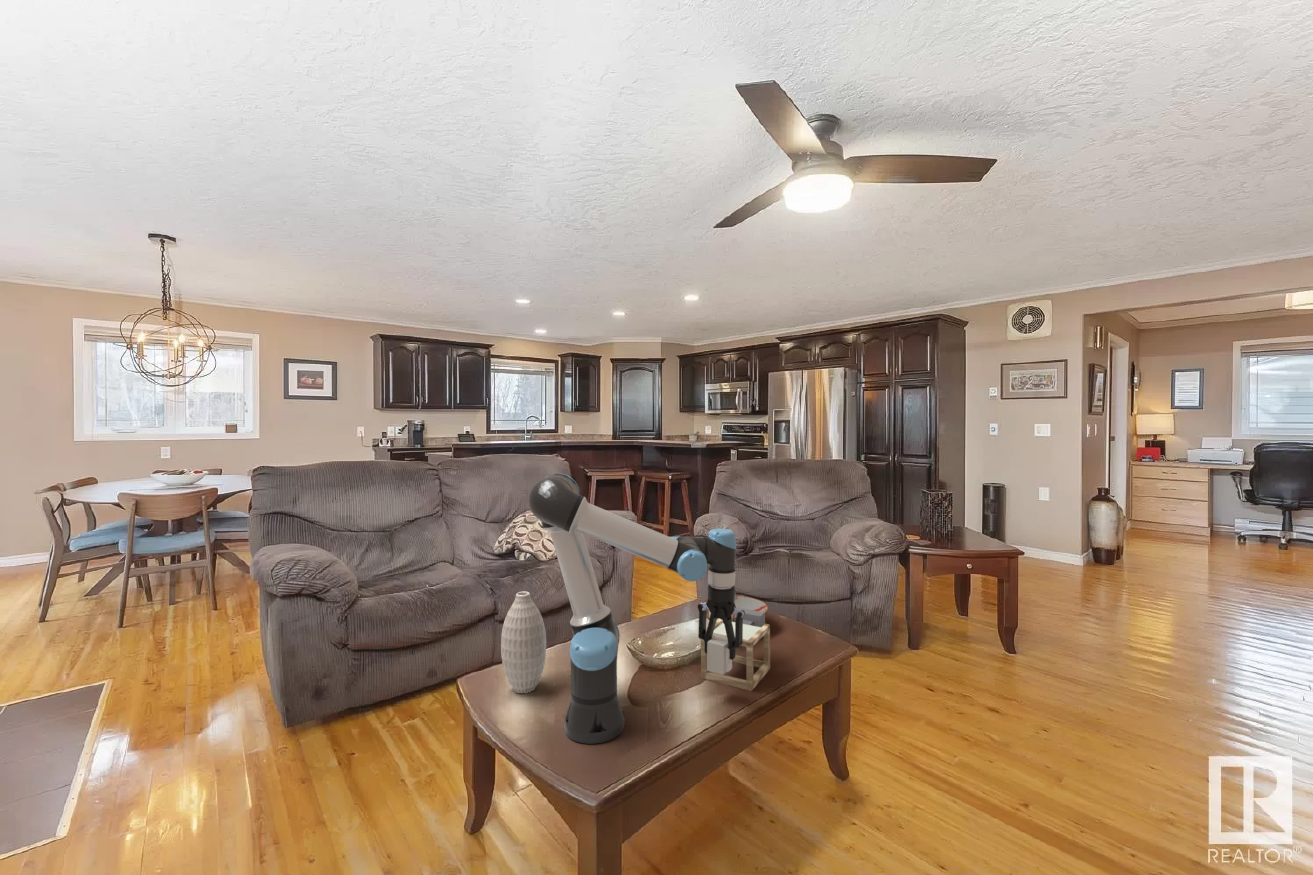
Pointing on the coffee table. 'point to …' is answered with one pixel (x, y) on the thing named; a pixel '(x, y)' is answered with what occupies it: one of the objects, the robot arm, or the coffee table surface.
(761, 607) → the bowl
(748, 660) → the maple stand
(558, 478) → the robot arm
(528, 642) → the vase
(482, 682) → the coffee table surface
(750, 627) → the trapdoor
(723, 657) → the light gray block
